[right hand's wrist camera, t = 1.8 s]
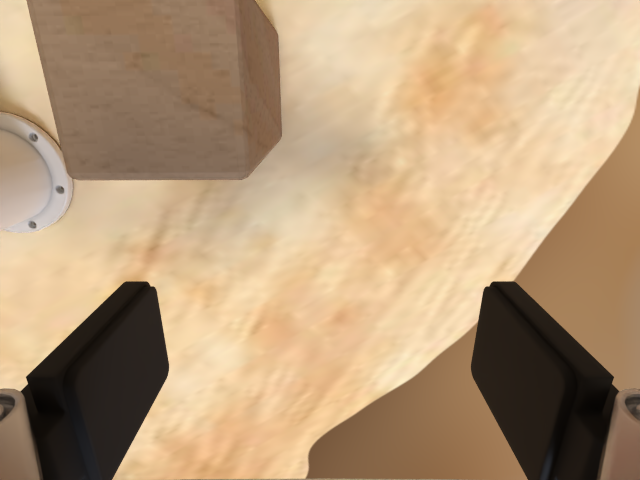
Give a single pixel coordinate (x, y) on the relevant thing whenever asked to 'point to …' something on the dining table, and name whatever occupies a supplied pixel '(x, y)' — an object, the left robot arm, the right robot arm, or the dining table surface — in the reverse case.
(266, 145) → the wooden block
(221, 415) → the dining table surface
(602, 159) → the dining table surface
